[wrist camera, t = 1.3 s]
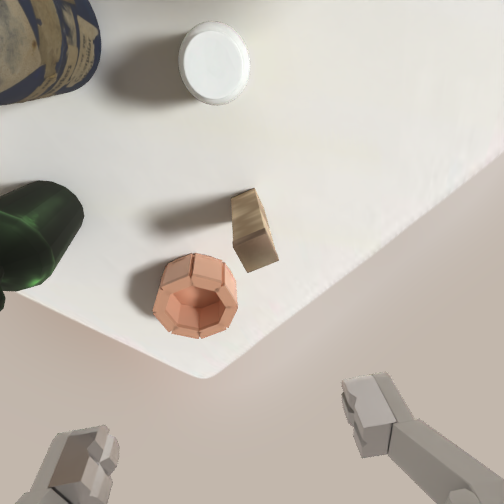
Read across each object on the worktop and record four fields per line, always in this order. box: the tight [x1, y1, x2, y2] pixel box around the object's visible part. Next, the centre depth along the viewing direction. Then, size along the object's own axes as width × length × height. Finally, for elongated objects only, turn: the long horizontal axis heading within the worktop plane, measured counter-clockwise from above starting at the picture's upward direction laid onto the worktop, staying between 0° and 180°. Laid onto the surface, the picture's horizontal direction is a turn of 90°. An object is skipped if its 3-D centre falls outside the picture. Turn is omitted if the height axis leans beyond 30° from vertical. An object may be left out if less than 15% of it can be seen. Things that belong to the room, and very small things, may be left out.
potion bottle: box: [0, 181, 84, 311], centre depth 27 cm, size 8×8×18 cm
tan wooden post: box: [231, 188, 279, 273], centre depth 31 cm, size 3×3×11 cm
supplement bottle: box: [178, 21, 250, 105], centre depth 24 cm, size 5×5×10 cm
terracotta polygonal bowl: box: [152, 253, 238, 339], centre depth 40 cm, size 10×10×5 cm
